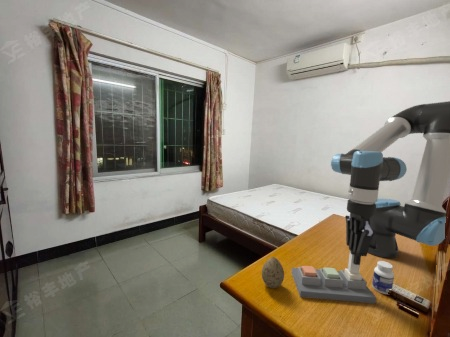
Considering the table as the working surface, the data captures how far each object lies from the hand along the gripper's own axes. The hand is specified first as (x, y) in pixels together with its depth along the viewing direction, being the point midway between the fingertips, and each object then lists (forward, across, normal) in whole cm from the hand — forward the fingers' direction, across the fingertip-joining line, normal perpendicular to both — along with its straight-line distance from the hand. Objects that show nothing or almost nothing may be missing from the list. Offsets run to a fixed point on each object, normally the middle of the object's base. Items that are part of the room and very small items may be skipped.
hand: (353, 271), depth 68 cm
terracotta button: (+4, 0, -14) cm, 14 cm away
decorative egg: (+7, +2, -26) cm, 27 cm away
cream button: (+3, 0, 0) cm, 3 cm away
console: (+6, 0, -7) cm, 9 cm away
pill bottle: (+6, -1, +10) cm, 12 cm away
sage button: (+4, 0, -7) cm, 8 cm away
